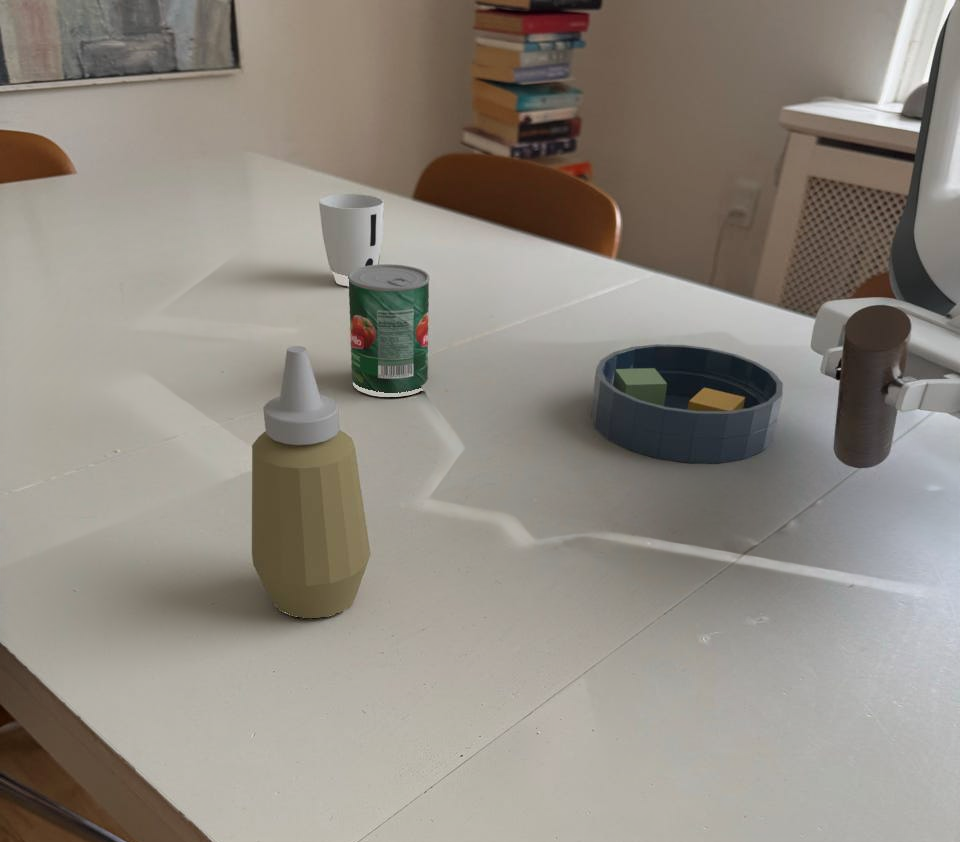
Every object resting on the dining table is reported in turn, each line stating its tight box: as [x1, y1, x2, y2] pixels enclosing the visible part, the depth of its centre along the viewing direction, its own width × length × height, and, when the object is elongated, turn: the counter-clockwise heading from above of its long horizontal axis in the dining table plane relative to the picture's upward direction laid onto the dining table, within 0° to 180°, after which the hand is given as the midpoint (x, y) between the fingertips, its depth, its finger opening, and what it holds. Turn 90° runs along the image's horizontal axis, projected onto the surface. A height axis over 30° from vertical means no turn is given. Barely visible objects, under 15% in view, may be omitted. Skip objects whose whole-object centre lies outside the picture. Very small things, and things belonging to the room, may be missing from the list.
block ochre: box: [688, 388, 745, 411], centre depth 92 cm, size 4×4×4 cm
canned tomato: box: [348, 263, 430, 393], centre depth 100 cm, size 8×8×11 cm
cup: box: [318, 193, 385, 276], centre depth 128 cm, size 8×8×10 cm
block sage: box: [613, 368, 667, 406], centre depth 96 cm, size 4×4×4 cm
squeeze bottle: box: [251, 345, 371, 620], centre depth 65 cm, size 8×8×18 cm
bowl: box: [590, 343, 784, 464], centre depth 95 cm, size 17×17×6 cm
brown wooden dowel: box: [833, 305, 912, 469], centre depth 69 cm, size 4×4×12 cm
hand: (861, 380), depth 67 cm, fingers closed on brown wooden dowel, 4 cm apart
